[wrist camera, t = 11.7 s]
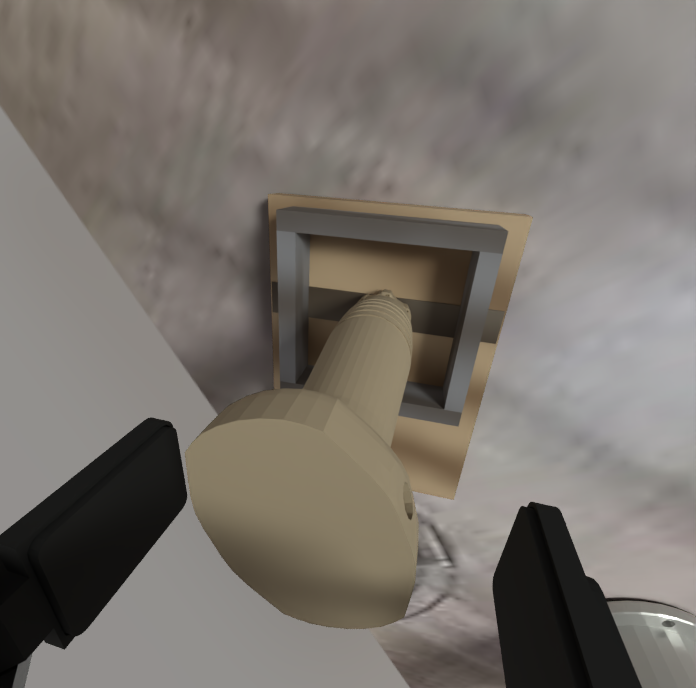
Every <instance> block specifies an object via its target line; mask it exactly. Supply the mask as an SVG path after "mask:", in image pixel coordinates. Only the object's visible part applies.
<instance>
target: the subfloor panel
mask: <svg viewBox="0 0 696 688" xmlns="http://www.w3.org/2000/svg"><path fill="white" fill-rule="evenodd" d="M268 212H269V244H270V275H271V307H272V339H273V370H274V389H282V388H292V389H303V387H304V385H305V383H306V382H307V380H308V378H309V376H310V374H311V372H312V370H313V368H314V366H315V364H316V362H317V360H318V358H319V356H320V354H321V352H322V350H323V348H324V346H325V344H326V342H327V340H328V338H329V336H330V334H331V333H332V331H333V329H334V328H335V326H336V325H337V324H338V322H339V321H340V319H341V318H342V317H343V316H344V315H345V314H346V313H347V312H348V310H349V309H350V308H352V307H353V306H354V305H355V304H357V302H358V301H359V300H360V299H361V298H362V297H363V296H364V295H366V294H369V295H374V294H378V293H380V292H382V290H384V289H387V290H391V291H392V293H393V295H394V296H395V297H396V298H397V299H398V300H399V301H401V302H402V303H405V304H407V305H408V307H409V309H410V312H411V320H410V321H411V326H412V344H413V347H412V358H411V366H410V371H409V375H408V379H407V382H406V386H405V390H404V394H403V398H402V402H401V406H400V410H399V414H398V418H397V422H396V426H395V431H394V435H393V439H392V443H391V449H392V450H393V451H394V453H395V454H396V455H397V457H398V458H399V459H400V460H401V462H402V464H403V466H404V468H405V470H406V472H407V474H408V476H409V480H410V485H411V489H412V491H415V492H419V493H424V494H429V495H433V496H438V497H443V498H447V499H452V500H454V496H455V493H456V489H457V486H458V482H459V479H460V475H461V471H462V468H463V464H464V461H465V457H466V454H467V450H468V447H469V443H470V439H471V436H472V432H473V429H474V425H475V422H476V418H477V414H478V411H479V407H480V404H481V400H482V397H483V393H484V390H485V386H486V382H487V379H488V375H489V372H490V368H491V365H492V361H493V358H494V354H495V350H496V347H497V343H498V340H499V336H500V333H501V329H502V325H503V322H504V318H505V315H506V311H507V308H508V304H509V301H510V297H511V293H512V290H513V286H514V283H515V279H516V276H517V272H518V269H519V265H520V261H521V258H522V254H523V251H524V247H525V244H526V240H527V236H528V233H529V229H530V226H531V222H532V219H533V217H531V216H529V215H526V214H516V213H504V212H492V211H481V210H469V209H457V208H446V207H434V206H422V205H411V204H399V203H387V202H376V201H364V200H352V199H341V198H329V197H317V196H306V195H294V194H282V193H275V194H268Z"/></svg>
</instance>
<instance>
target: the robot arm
mask: <svg viewBox="0 0 696 688" xmlns="http://www.w3.org/2000/svg"><path fill="white" fill-rule="evenodd" d="M186 500H187V491H186V485H185V479H184V473H183V467H182V461H181V455H180V449H179V443H178V438H177V432H176V429H175V428H173V425H172V424H171V422H169V421H164V420H159V419H155V418H148V419H146V420H144V421H143V422H142V423H141V424H139V425H138V426H137V427H135V428H134V429H133V430H132V431H130V432H129V433H128V434H127V435H125V436H124V437H123V438H122V439H120V440H119V441H118V442H117V443H115V444H114V445H113V446H112V447H110V448H109V449H108V450H106V451H105V452H104V453H103V454H102V455H100V456H99V457H98V458H97V459H95V460H94V461H93V462H91V463H90V464H89V465H88V466H86V467H85V468H84V469H83V470H81V471H80V472H79V473H78V474H76V475H75V476H74V477H73V478H71V479H70V480H69V481H68V482H66V483H65V484H64V485H62V486H61V487H60V488H59V489H58V490H56V491H55V492H54V493H52V494H51V495H50V496H49V497H47V498H46V499H45V500H44V501H43V502H41V503H40V504H39V505H37V506H36V507H35V508H34V509H33V510H31V511H30V512H29V513H27V514H26V515H25V516H24V517H22V518H21V519H20V520H19V521H17V522H16V523H15V524H13V525H12V526H11V527H10V528H8V529H7V530H6V531H5V532H3V533H2V534H1V535H0V688H24V687H25V683H26V678H27V674H28V670H29V666H30V661H31V657H32V653H33V652H34V650H35V649H36V648H37V647H38V646H39V644H40V643H41V642H42V641H43V640H44V641H45V642H46V643H48V644H51V645H54V646H56V647H59V648H62V649H65V648H66V647H67V646H68V645H69V643H70V642H71V641H72V640H73V638H74V637H75V636H78V635H80V634H82V633H83V632H84V631H85V630H86V629H87V628H88V627H89V626H90V624H91V623H92V622H93V621H94V620H95V618H96V617H97V616H98V615H99V613H100V612H101V611H102V609H103V608H104V607H105V606H106V604H107V603H108V602H109V601H110V599H111V598H112V597H113V596H114V594H115V593H116V592H117V591H118V589H119V588H120V587H121V585H122V584H123V583H124V582H125V580H126V579H127V578H128V577H129V575H130V574H131V573H132V572H133V570H134V569H135V568H136V566H137V565H138V564H139V563H140V562H141V560H142V559H143V558H144V557H145V555H146V554H147V553H148V551H149V550H150V549H151V548H152V546H153V545H154V544H155V543H156V541H157V540H158V539H159V538H160V536H161V535H162V534H163V533H164V531H165V530H166V529H167V527H168V526H169V525H170V524H171V522H172V521H173V520H174V518H175V517H176V516H177V515H178V514H179V512H180V511H181V510H182V508H183V507H184V505H185V503H186ZM493 596H494V603H495V611H496V618H497V625H498V632H499V639H500V646H501V654H502V661H503V668H504V675H505V682H506V688H696V616H694V615H692V614H690V613H687V612H685V611H682V610H680V609H677V608H674V607H670V606H666V605H663V604H658V603H651V602H645V601H627V600H625V601H609V602H607V601H606V599H605V596H604V594H603V592H602V590H601V588H600V586H599V584H598V583H597V582H596V581H595V580H594V579H592V578H590V577H587V576H585V573H584V570H583V568H582V565H581V563H580V560H579V557H578V555H577V552H576V549H575V547H574V544H573V542H572V539H571V536H570V534H569V531H568V529H567V526H566V523H565V521H564V518H563V516H562V513H561V511H560V510H559V509H558V508H557V507H553V506H548V505H544V504H539V503H535V502H530V503H529V505H528V506H527V507H524V506H521V507H520V509H519V511H518V514H517V517H516V519H515V522H514V524H513V527H512V529H511V532H510V535H509V537H508V540H507V542H506V545H505V548H504V550H503V553H502V555H501V558H500V560H499V563H498V566H497V568H496V571H495V573H494V577H493Z"/></svg>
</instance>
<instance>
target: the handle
mask: <svg viewBox="0 0 696 688" xmlns="http://www.w3.org/2000/svg"><path fill="white" fill-rule="evenodd" d="M410 320H411V312H410V309H409V307H408V305H407V304H405V303H402V302H401V301H399V300H398V299H397V298H396V297H395V296H394V295H393V293H392V291H391V290H387V289H384V290H382V292H380V293H378V294H374V295H369V294H366V295H364V296H363V297H362V298H361V299H360V300H359V301H358V302H357V304H355V305H354V306H353V307H352V308H350V309H349V310H348V312H347V313H346V314H345V315H344V316H343V317H342V318H341V319H340V321H339V322H338V324H337V325H336V326H335V328H334V329H333V331H332V333H331V334H330V336H329V338H328V340H327V342H326V344H325V346H324V348H323V350H322V352H321V354H320V356H319V358H318V360H317V362H316V364H315V366H314V368H313V370H312V372H311V374H310V376H309V378H308V380H307V382H306V383H305V385H304V387H303V389H292V388H282V389H274V390H266V391H262V392H258V393H255V394H252V395H248V396H246V397H244V398H242V399H240V400H238V401H236V402H234V403H232V404H230V405H229V406H228V407H227V408H225V409H224V410H223V411H222V412H221V413H220V414H219V415H218V416H217V417H216V418H215V419H214V420H213V421H212V422H211V423H210V424H209V425H208V426H207V427H206V428H205V429H204V430H203V431H202V432H201V434H200V435H199V436H198V437H197V438H196V439H195V440H194V441H193V442H192V443H191V445H190V446H189V448H188V449H187V450H186V452H185V458H186V467H187V475H188V483H189V489H190V496H191V500H192V504H193V507H194V511H195V514H196V516H197V517H198V519H199V521H200V523H201V525H202V527H203V529H204V530H205V532H206V533H207V535H208V536H209V538H210V539H211V541H212V543H213V544H214V546H215V547H216V549H217V550H218V552H219V553H220V555H221V556H222V558H223V559H224V560H225V562H226V563H227V564H228V566H229V567H230V568H231V569H232V571H233V572H234V573H236V575H238V576H239V577H240V578H241V579H242V580H243V581H244V582H245V583H246V584H247V585H248V586H250V587H251V588H252V589H253V590H255V591H256V592H257V593H258V594H259V595H261V596H262V597H263V598H264V599H266V600H267V601H268V602H269V603H271V604H272V605H273V606H274V607H276V608H277V609H278V610H279V611H281V612H282V613H283V614H286V615H288V616H291V617H293V618H296V619H298V620H302V621H305V622H308V623H311V624H316V625H321V626H326V627H334V628H344V629H366V628H374V627H382V626H385V625H388V624H391V623H394V622H396V621H398V620H400V619H402V618H404V616H405V613H406V610H407V607H408V604H409V601H410V598H411V595H412V591H413V587H414V584H415V575H416V564H417V552H418V524H419V523H418V518H417V513H416V508H415V503H414V498H413V493H412V489H411V485H410V480H409V476H408V474H407V472H406V470H405V468H404V466H403V464H402V462H401V460H400V459H399V458H398V457H397V455H396V454H395V453H394V451H393V450H392V449H391V443H392V439H393V435H394V431H395V426H396V422H397V418H398V414H399V410H400V406H401V402H402V398H403V394H404V390H405V386H406V382H407V379H408V375H409V371H410V366H411V358H412V347H413V344H412V326H411V321H410Z"/></svg>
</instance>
